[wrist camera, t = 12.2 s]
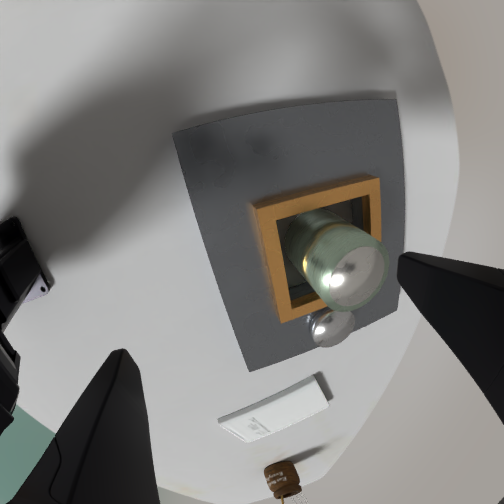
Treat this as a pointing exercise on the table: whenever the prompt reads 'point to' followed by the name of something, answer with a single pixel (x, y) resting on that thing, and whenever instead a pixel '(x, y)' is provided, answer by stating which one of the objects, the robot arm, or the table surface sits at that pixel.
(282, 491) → the utensil holder
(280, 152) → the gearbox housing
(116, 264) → the table surface
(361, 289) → the can
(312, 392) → the external hard drive
